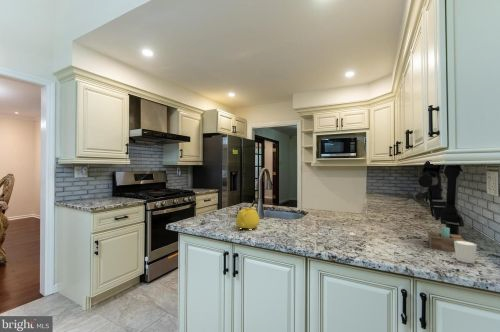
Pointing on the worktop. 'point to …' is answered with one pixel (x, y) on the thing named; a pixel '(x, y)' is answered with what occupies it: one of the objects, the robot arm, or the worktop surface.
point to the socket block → (443, 241)
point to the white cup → (465, 251)
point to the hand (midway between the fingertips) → (435, 218)
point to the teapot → (247, 218)
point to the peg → (445, 232)
